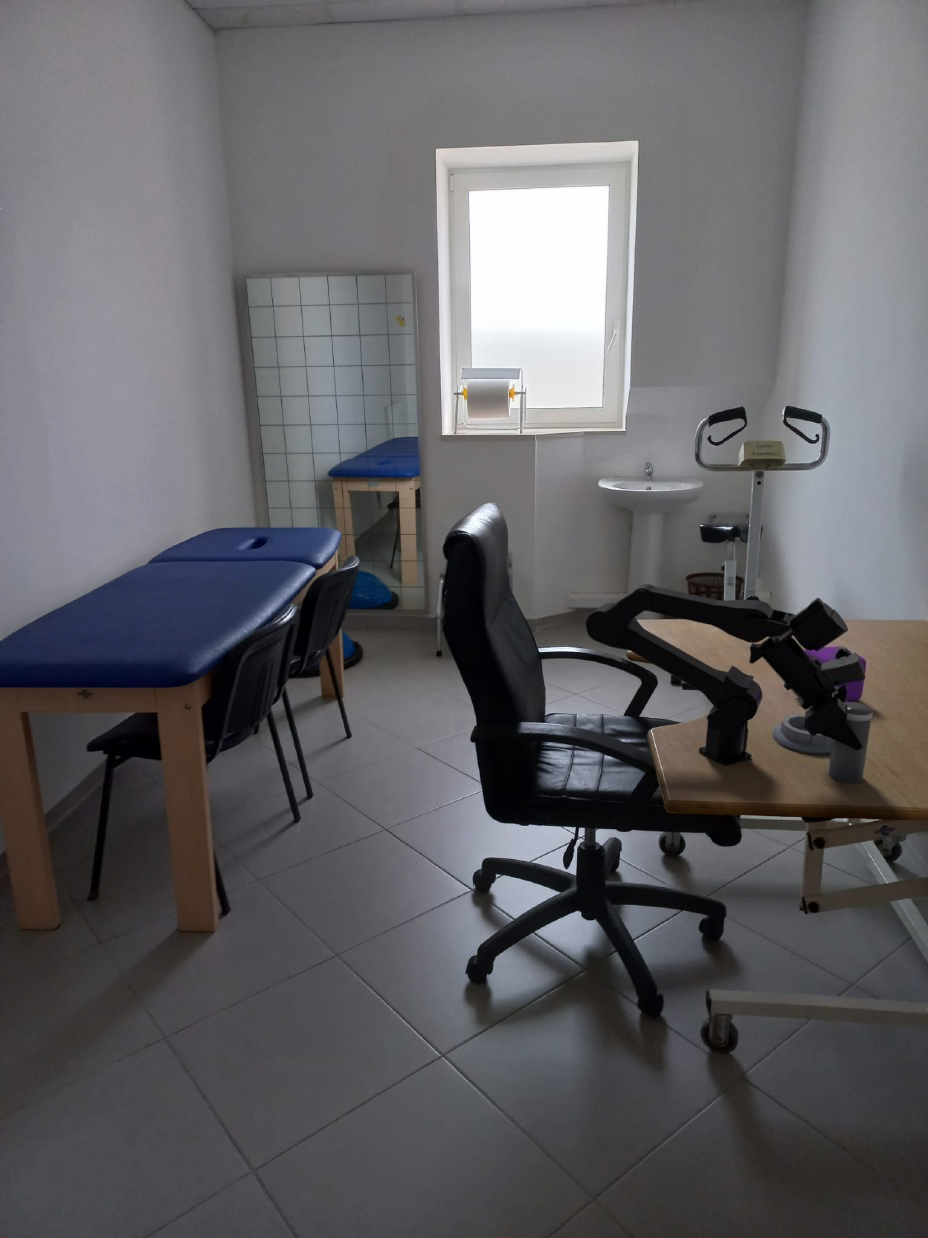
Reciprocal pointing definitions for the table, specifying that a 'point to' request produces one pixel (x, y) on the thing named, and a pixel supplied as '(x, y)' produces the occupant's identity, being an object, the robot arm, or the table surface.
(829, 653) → the toy camera
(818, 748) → the ring
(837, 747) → the grey domed cylinder
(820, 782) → the table surface
